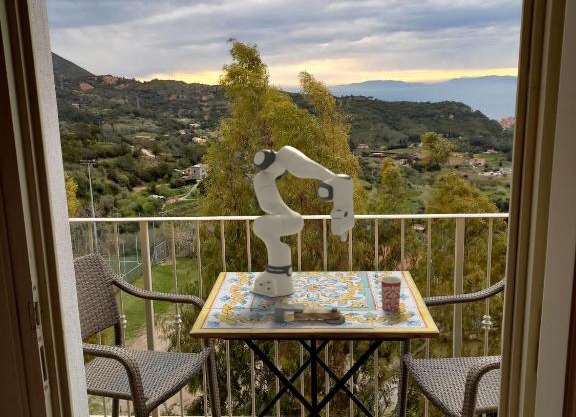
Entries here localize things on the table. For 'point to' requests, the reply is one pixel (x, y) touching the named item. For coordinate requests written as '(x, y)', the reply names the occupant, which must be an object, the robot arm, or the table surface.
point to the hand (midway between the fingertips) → (343, 240)
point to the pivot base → (338, 321)
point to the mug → (390, 293)
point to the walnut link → (318, 314)
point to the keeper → (285, 310)
